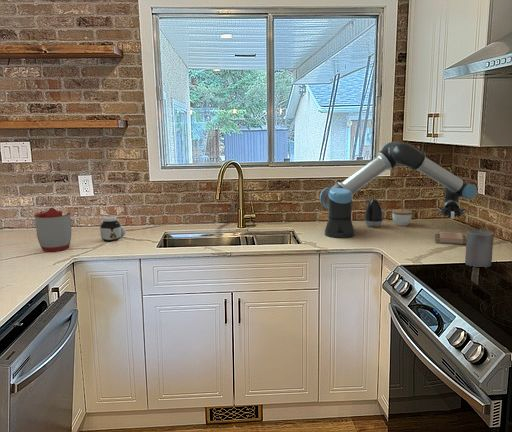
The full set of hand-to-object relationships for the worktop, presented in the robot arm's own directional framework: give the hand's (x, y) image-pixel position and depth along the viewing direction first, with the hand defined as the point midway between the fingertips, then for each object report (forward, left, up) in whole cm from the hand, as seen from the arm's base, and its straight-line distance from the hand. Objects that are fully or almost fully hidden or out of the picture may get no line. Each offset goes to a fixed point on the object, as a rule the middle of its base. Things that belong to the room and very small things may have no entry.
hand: (452, 216), depth 236 cm
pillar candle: (+31, -36, -11) cm, 49 cm away
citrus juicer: (-113, -155, -11) cm, 193 cm away
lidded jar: (-33, +8, -11) cm, 36 cm away
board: (+3, -5, -11) cm, 12 cm away
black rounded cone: (-42, -6, -11) cm, 44 cm away
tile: (+4, -8, -9) cm, 12 cm away
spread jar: (-113, -127, -11) cm, 171 cm away
